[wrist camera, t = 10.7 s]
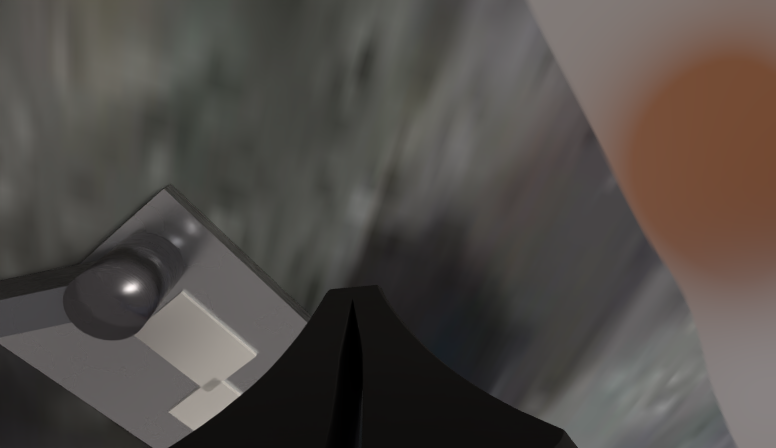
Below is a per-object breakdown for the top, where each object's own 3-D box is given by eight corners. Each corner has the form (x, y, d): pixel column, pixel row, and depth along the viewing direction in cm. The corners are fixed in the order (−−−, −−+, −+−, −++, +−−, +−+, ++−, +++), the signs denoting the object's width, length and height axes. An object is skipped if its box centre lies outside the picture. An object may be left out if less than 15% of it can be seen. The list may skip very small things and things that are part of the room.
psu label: (256, 353, 23) (255, 356, 22) (209, 389, 23) (208, 392, 23) (182, 290, 21) (181, 292, 21) (133, 331, 22) (131, 333, 21)
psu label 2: (281, 426, 24) (281, 429, 24) (237, 458, 25) (236, 461, 25) (215, 374, 23) (214, 376, 23) (169, 409, 23) (168, 412, 23)
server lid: (364, 367, 24) (365, 376, 24) (214, 474, 26) (210, 486, 26) (170, 183, 20) (163, 188, 19) (6, 330, 22) (-6, 340, 21)
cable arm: (170, 226, 19) (128, 264, 16) (193, 283, 21) (159, 331, 17) (-94, 281, 19) (-197, 333, 16) (-56, 336, 20) (-144, 395, 17)
